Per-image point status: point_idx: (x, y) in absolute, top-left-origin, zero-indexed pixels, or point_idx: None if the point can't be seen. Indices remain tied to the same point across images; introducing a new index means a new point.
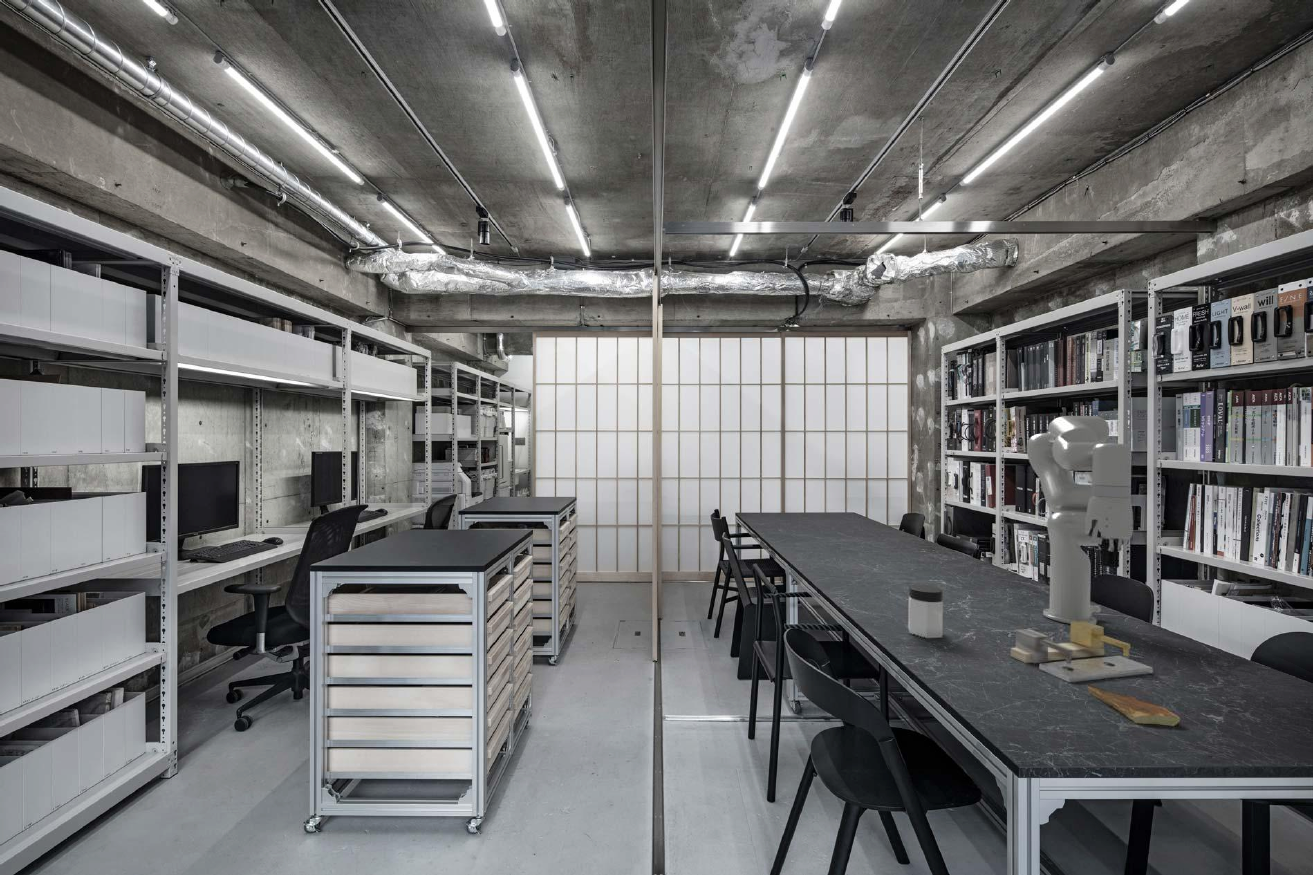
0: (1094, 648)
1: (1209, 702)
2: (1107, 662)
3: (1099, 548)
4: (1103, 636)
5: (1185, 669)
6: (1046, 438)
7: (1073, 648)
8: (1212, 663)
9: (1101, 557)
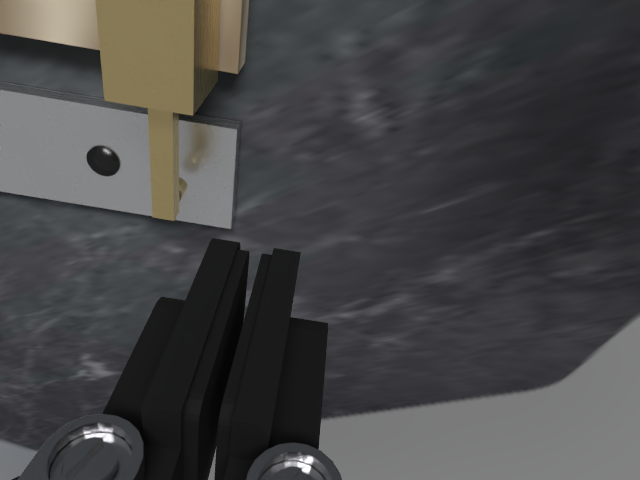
0: None
1: None
2: (108, 152)
3: (60, 432)
4: (157, 126)
5: (382, 243)
6: None
7: (68, 30)
8: (545, 254)
9: (187, 307)
